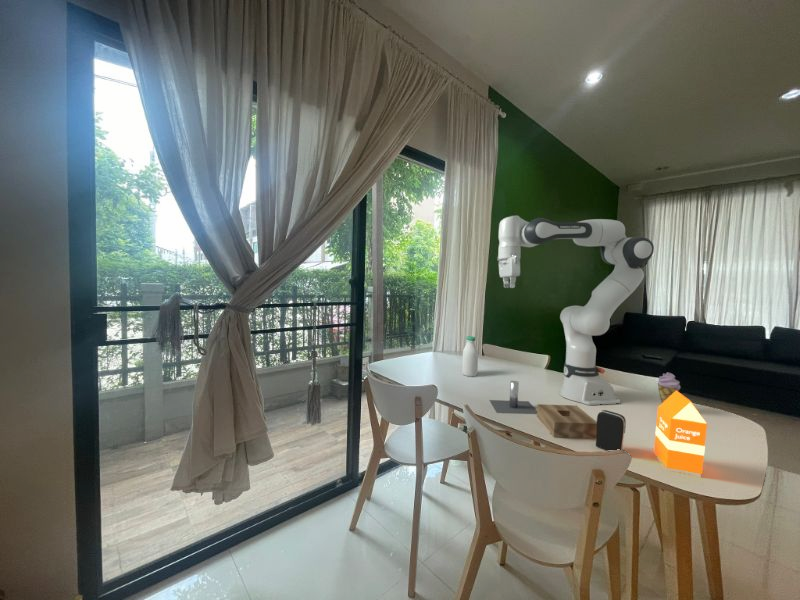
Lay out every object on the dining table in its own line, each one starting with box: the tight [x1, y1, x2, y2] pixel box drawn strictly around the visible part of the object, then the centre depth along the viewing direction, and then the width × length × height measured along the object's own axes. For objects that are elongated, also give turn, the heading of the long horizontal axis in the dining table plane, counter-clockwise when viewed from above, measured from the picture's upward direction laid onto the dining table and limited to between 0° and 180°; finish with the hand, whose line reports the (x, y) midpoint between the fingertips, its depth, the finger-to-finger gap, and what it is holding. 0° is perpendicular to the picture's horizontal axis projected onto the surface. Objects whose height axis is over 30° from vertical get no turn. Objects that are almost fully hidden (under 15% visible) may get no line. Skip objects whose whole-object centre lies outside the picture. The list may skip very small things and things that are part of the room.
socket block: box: [536, 403, 597, 439], centre depth 109 cm, size 14×14×5 cm
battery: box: [595, 409, 627, 451], centre depth 95 cm, size 7×4×11 cm, turn 42°
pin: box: [509, 380, 520, 408], centre depth 124 cm, size 3×3×10 cm
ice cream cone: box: [657, 372, 681, 404], centre depth 123 cm, size 7×6×15 cm
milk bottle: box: [461, 335, 479, 378], centre depth 164 cm, size 8×8×20 cm
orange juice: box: [653, 390, 708, 475], centre depth 87 cm, size 8×9×20 cm
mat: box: [489, 399, 537, 415], centre depth 124 cm, size 16×12×1 cm
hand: (509, 287), depth 134 cm, fingers open, 8 cm apart
